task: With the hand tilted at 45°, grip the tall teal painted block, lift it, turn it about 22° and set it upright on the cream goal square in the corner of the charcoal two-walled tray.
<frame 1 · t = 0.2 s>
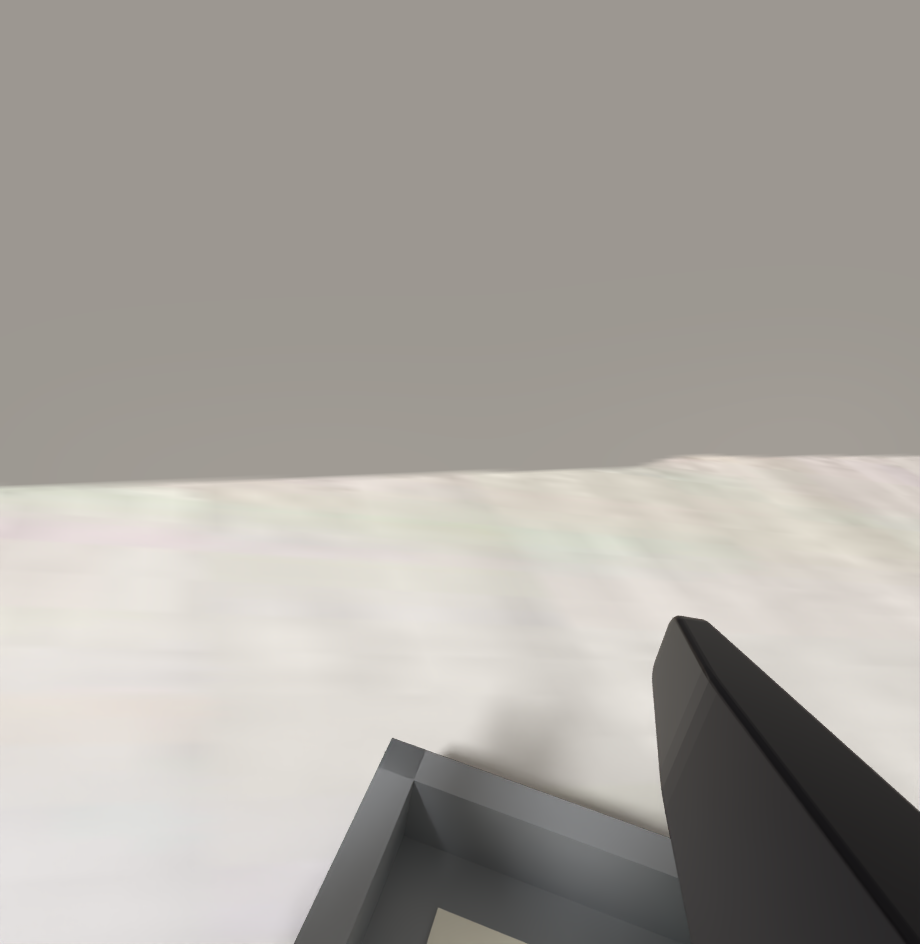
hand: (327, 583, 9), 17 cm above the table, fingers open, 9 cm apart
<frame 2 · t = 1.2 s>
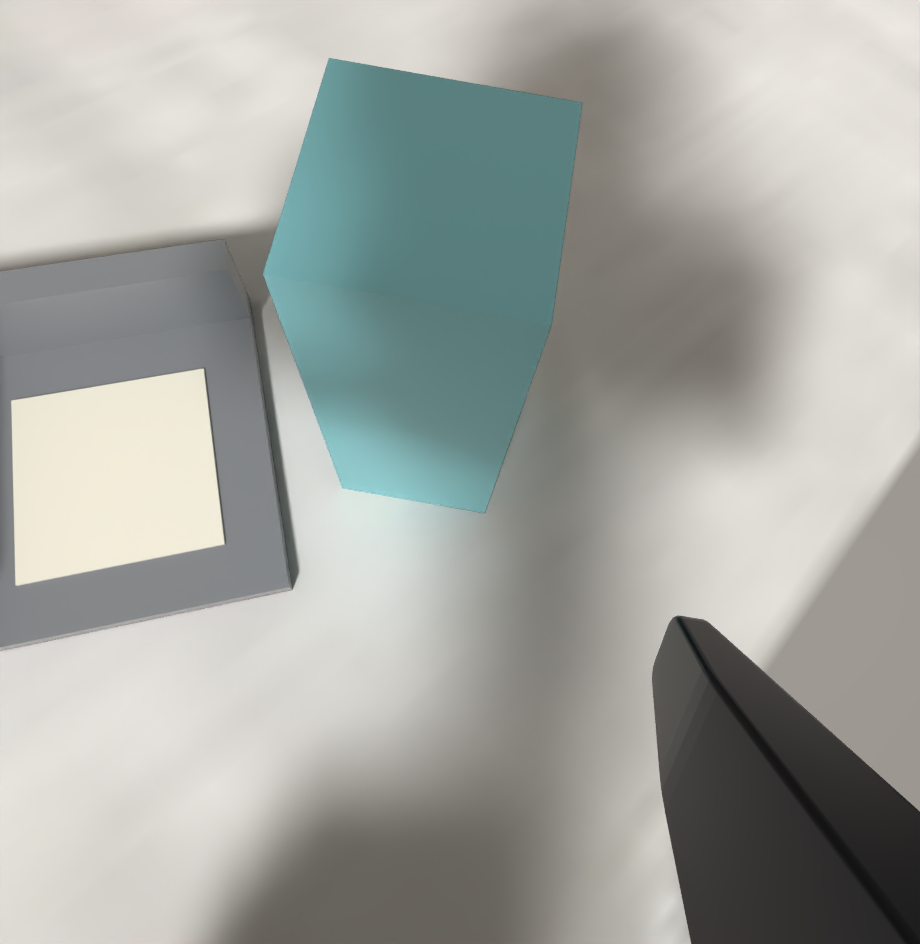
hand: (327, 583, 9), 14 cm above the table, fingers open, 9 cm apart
block: (426, 434, 24), on the table
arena: (123, 476, 23), on the table
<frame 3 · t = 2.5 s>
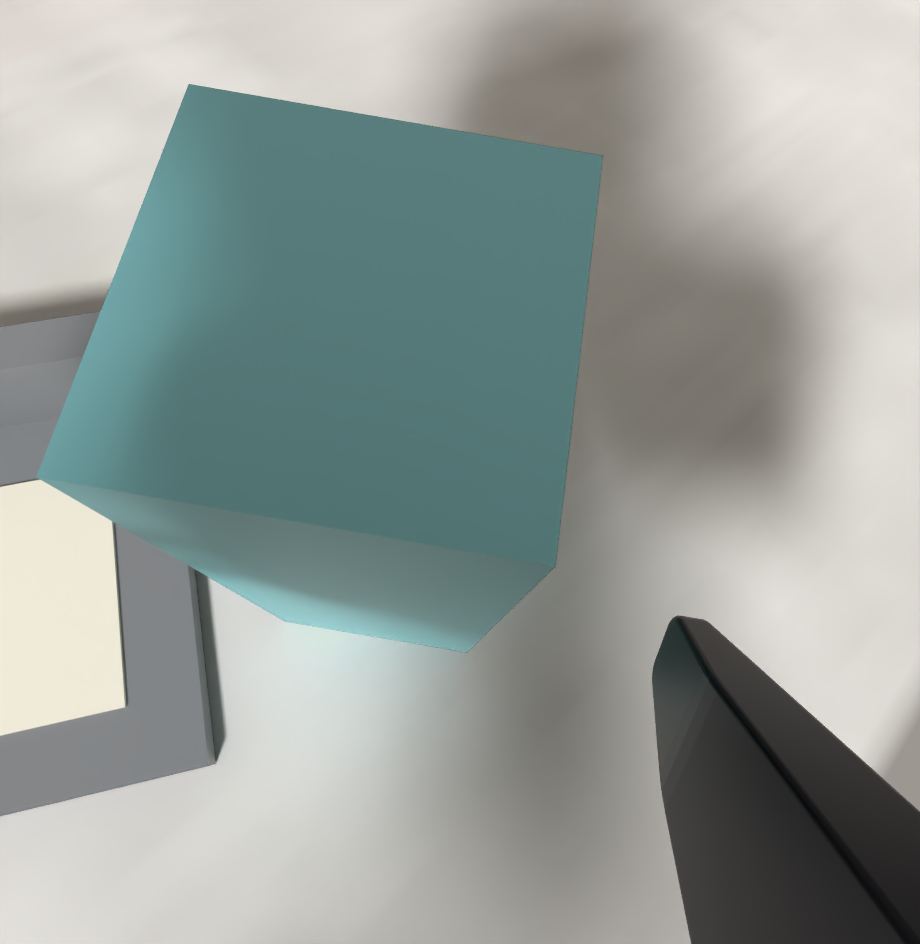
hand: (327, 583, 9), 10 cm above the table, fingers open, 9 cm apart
block: (393, 547, 19), on the table
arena: (2, 610, 18), on the table
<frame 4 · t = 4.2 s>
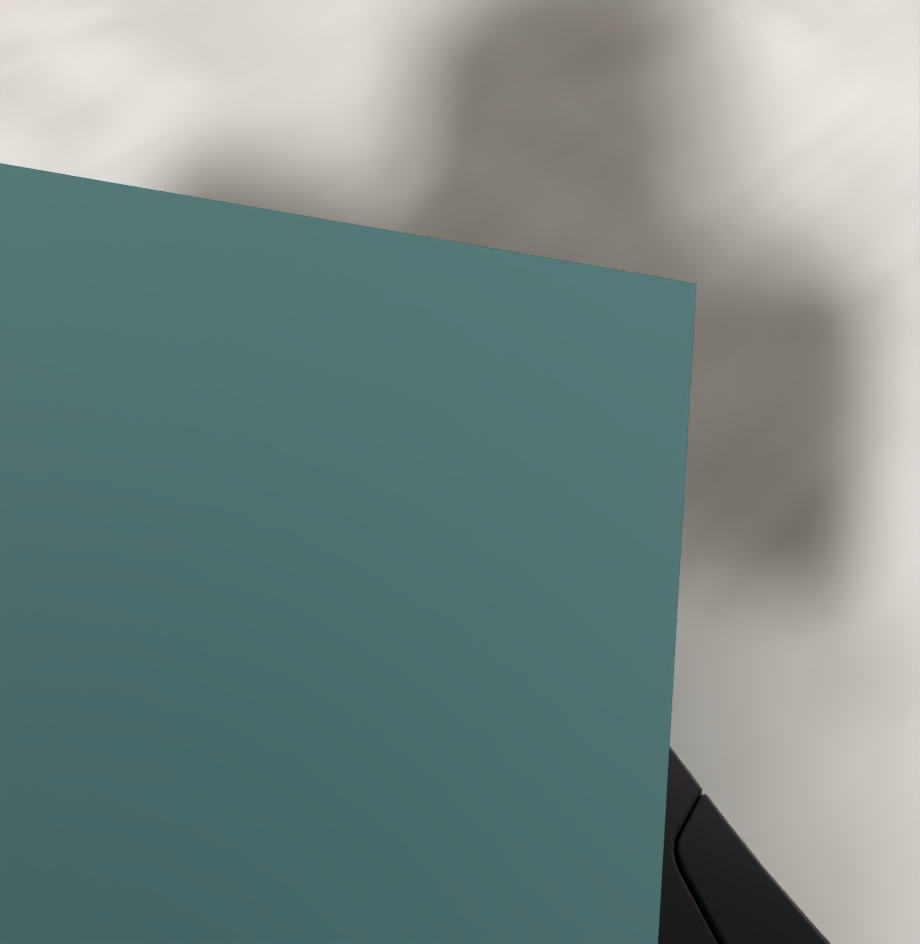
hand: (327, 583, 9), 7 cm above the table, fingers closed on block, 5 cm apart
block: (352, 694, 15), on the table, touching gripper
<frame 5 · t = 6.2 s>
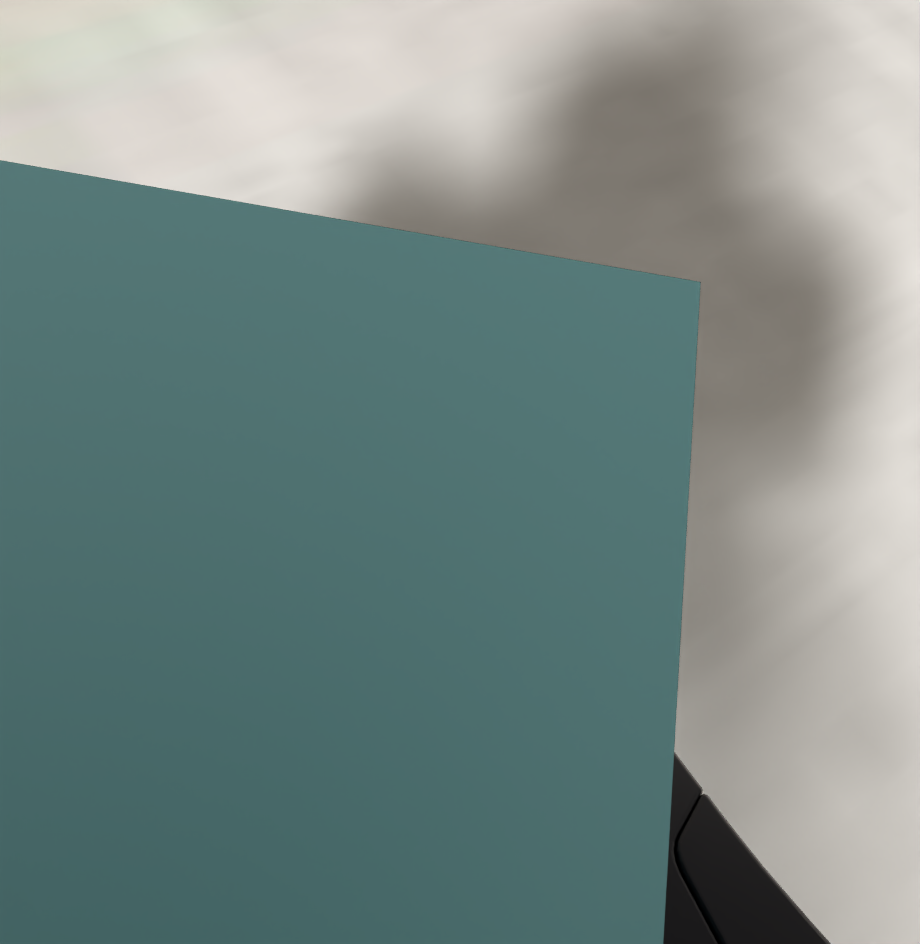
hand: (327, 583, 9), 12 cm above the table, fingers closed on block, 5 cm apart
block: (353, 693, 15), point 6 cm above the table, touching gripper
when the fingers open (9 cm above the table, at t = 8.2 s): block drops 1 cm, resting on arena.
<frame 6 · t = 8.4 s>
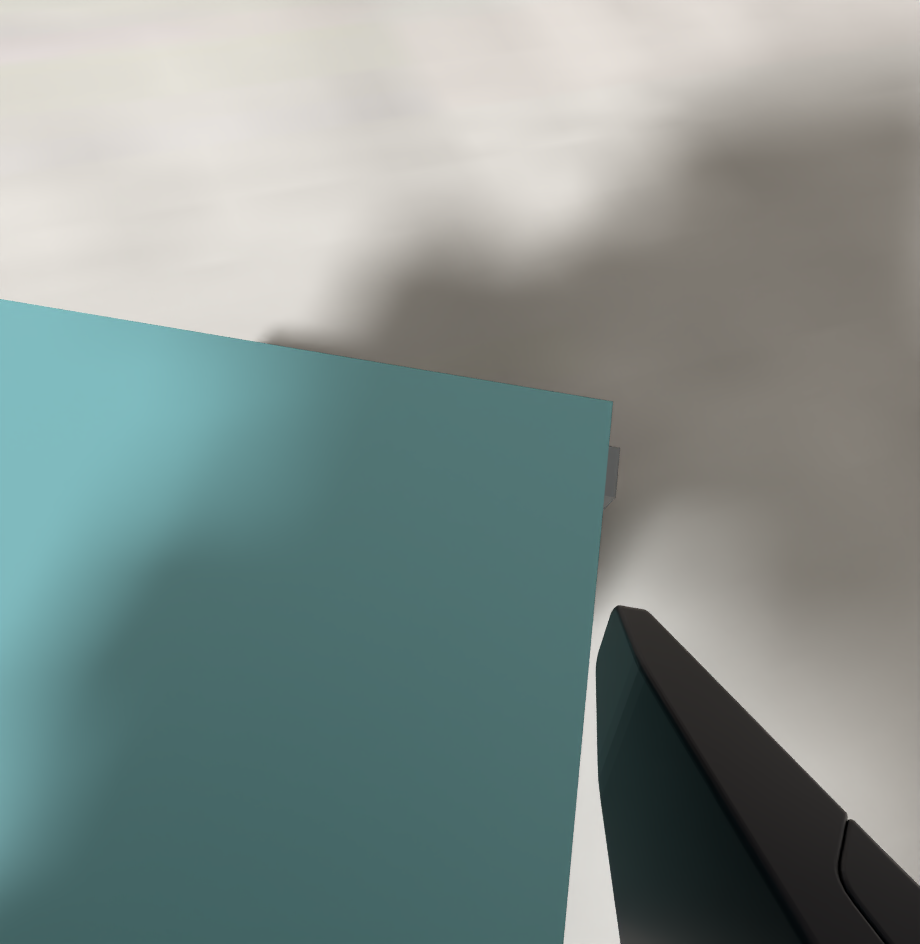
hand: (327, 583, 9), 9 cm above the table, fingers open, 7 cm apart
block: (358, 693, 16), point 1 cm above the table, touching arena
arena: (361, 693, 17), on the table
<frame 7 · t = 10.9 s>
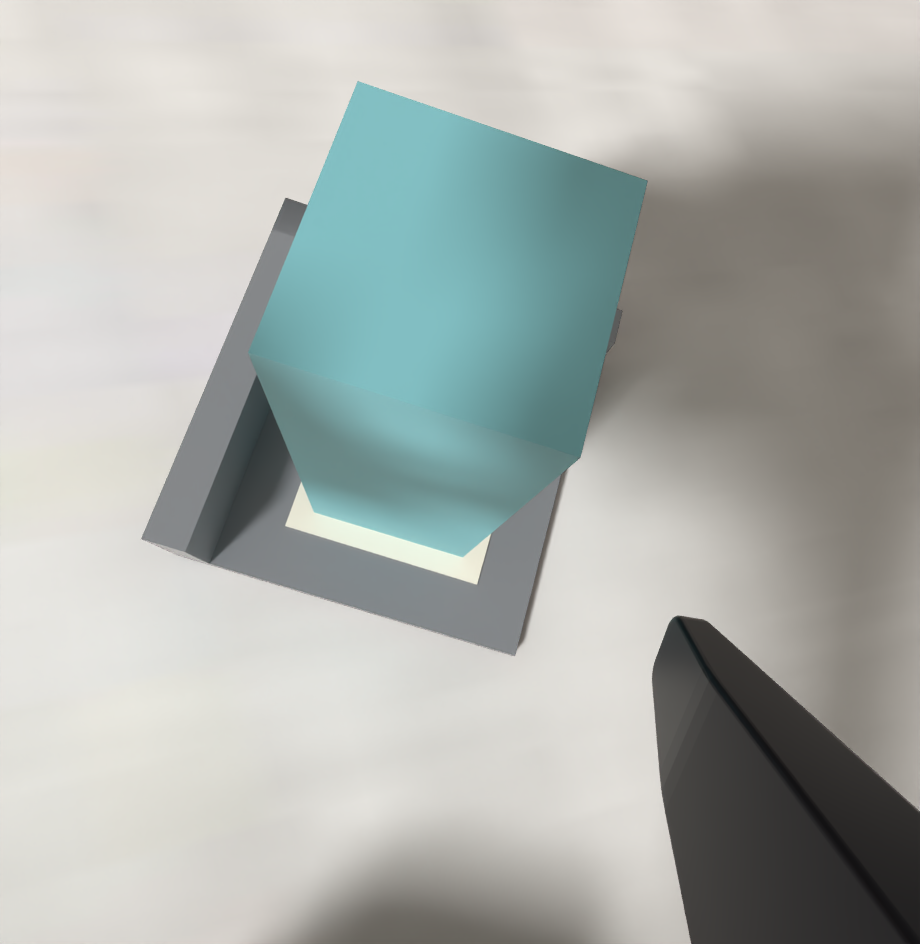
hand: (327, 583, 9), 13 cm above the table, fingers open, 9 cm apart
block: (411, 463, 22), point 1 cm above the table, touching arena
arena: (410, 468, 23), on the table
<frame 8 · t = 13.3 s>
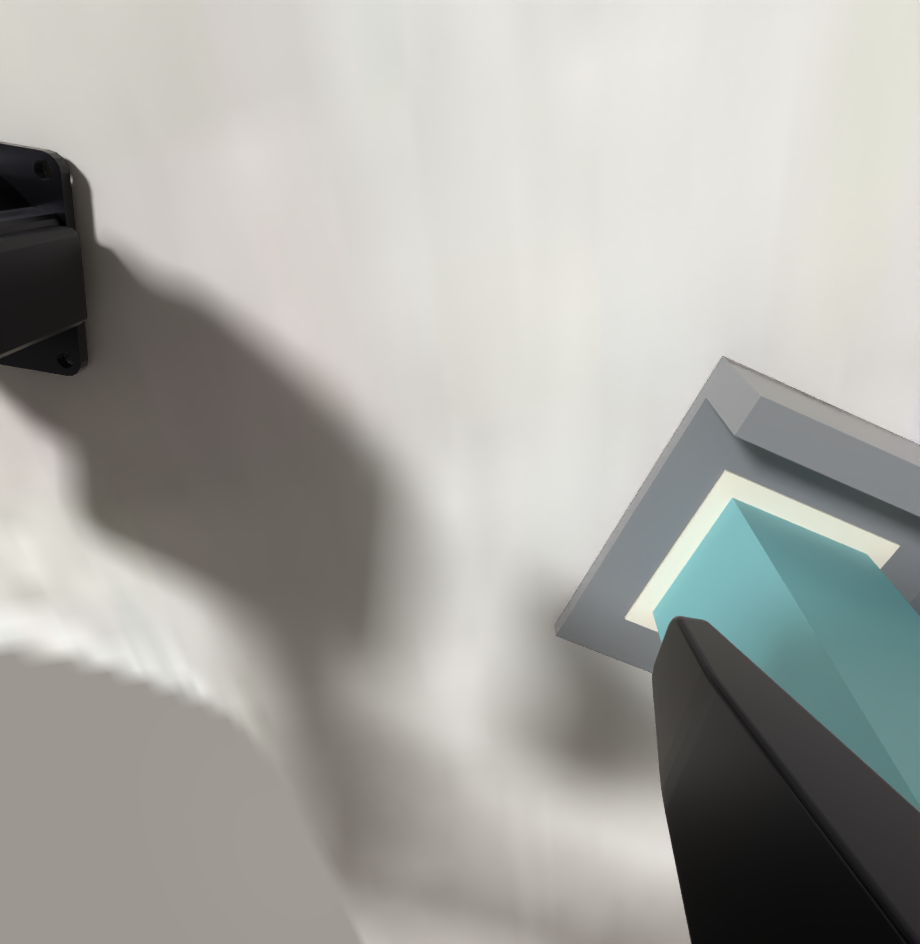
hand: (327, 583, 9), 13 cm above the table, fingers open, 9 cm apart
block: (756, 584, 23), point 1 cm above the table, touching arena
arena: (749, 572, 23), on the table
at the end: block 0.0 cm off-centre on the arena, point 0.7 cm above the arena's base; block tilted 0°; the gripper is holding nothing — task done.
